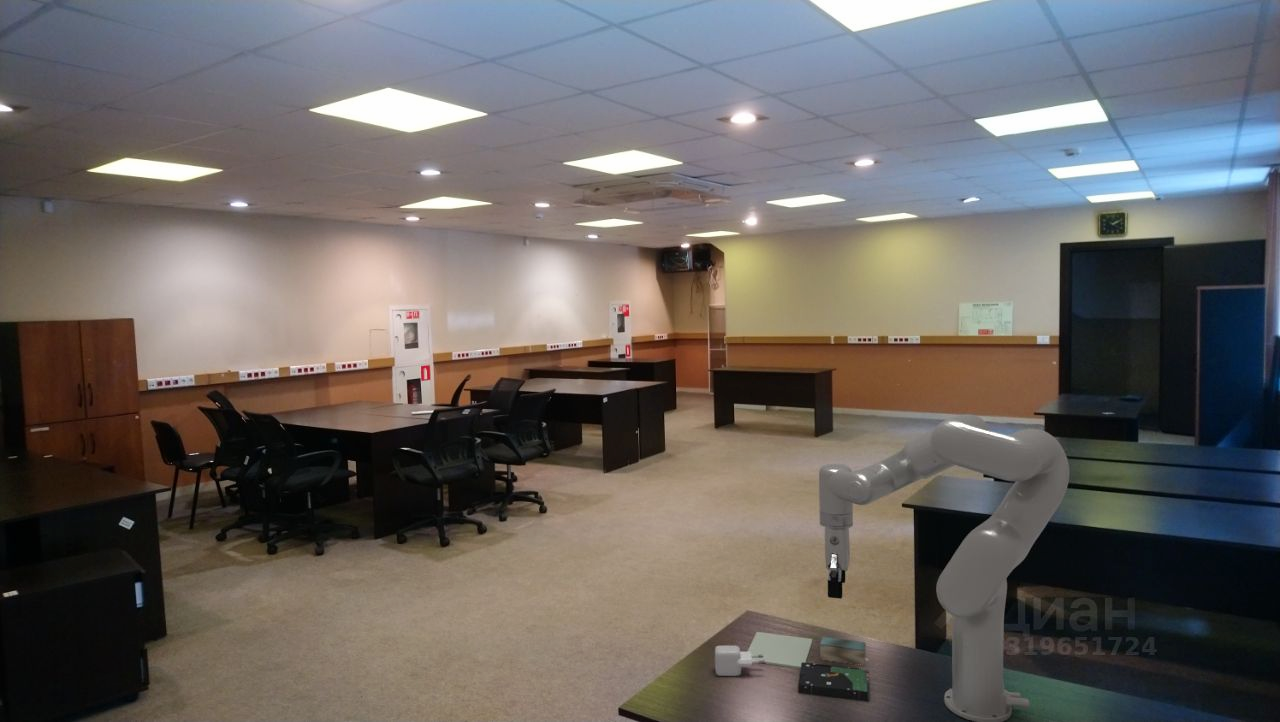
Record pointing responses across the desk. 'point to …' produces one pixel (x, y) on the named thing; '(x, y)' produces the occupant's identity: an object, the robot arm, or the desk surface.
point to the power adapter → (733, 660)
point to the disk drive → (834, 681)
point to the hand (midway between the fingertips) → (836, 589)
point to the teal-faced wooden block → (842, 650)
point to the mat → (781, 649)
